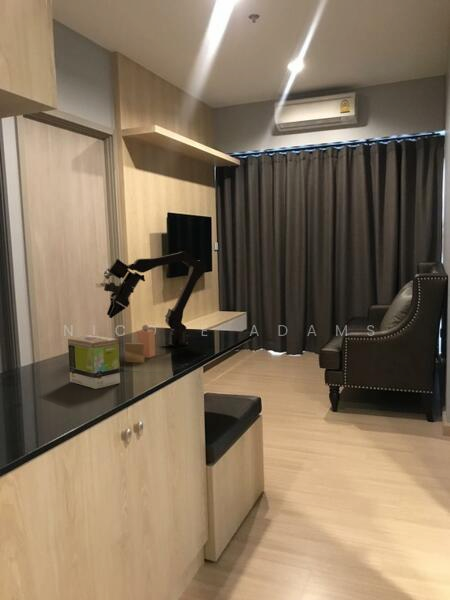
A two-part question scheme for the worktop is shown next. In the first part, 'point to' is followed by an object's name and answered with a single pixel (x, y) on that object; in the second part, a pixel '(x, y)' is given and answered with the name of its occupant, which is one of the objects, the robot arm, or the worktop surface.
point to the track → (134, 352)
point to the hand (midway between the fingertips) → (108, 316)
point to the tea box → (94, 361)
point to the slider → (147, 341)
